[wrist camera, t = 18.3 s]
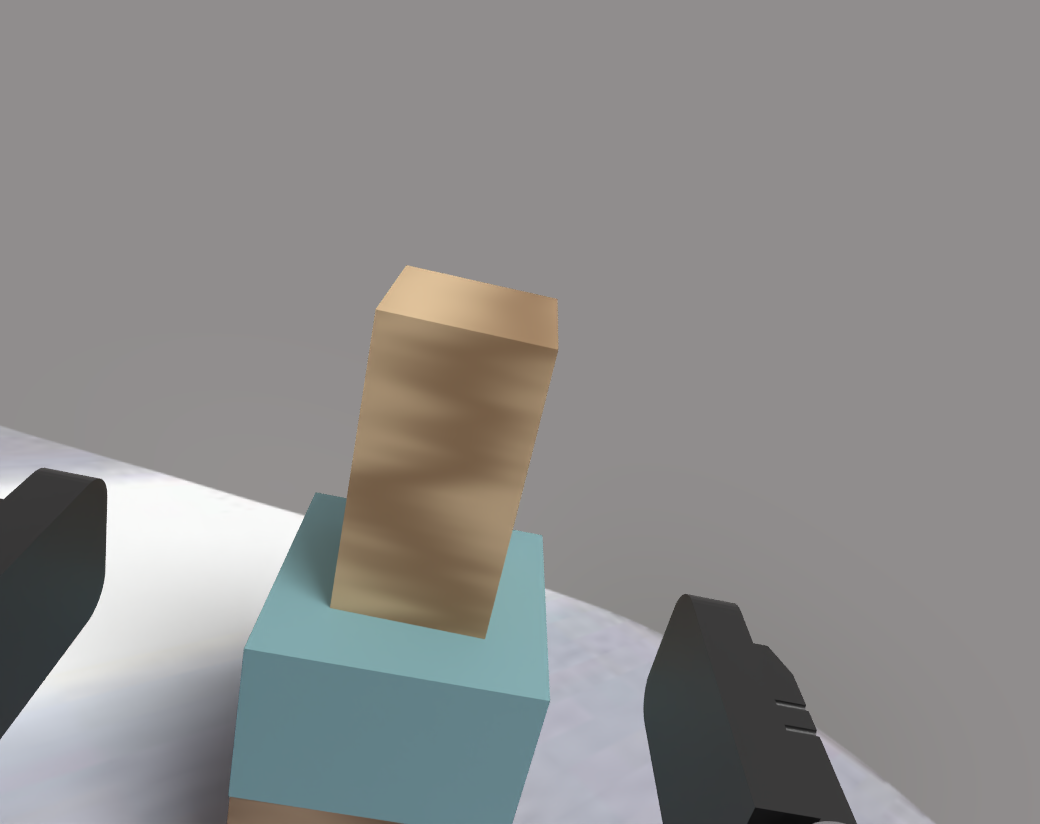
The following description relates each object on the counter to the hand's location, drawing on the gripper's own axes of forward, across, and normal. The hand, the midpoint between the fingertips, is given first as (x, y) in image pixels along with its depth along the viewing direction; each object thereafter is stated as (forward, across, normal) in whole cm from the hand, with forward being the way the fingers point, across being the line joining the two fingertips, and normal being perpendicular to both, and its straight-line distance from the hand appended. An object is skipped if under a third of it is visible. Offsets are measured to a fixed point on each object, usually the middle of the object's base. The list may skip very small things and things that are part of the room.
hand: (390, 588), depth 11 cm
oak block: (+14, -1, +10) cm, 17 cm away
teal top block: (+14, -1, +16) cm, 21 cm away
